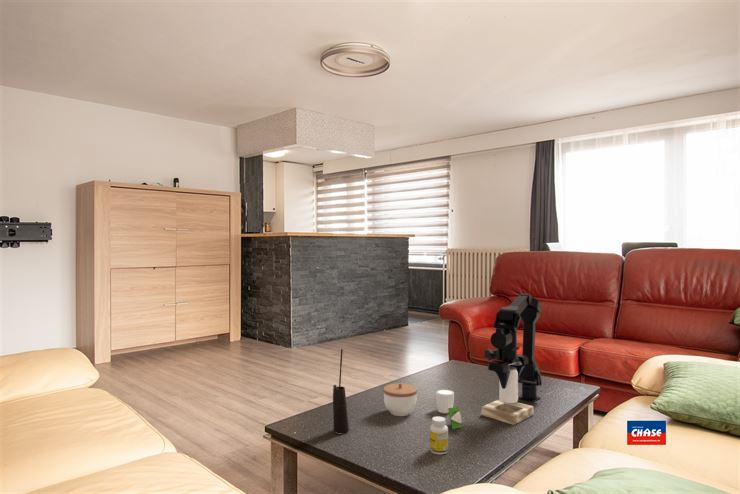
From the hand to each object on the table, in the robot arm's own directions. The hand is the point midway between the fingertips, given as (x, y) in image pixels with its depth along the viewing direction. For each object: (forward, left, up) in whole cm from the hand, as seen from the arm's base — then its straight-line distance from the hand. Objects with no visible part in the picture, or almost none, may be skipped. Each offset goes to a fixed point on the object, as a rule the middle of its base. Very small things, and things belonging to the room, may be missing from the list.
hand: (508, 386), depth 167 cm
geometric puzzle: (+22, -7, -11) cm, 26 cm away
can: (0, 0, -5) cm, 5 cm away
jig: (-1, -1, -11) cm, 11 cm away
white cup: (+12, -19, -11) cm, 25 cm away
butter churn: (+53, -32, -11) cm, 63 cm away
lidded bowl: (+26, -29, -11) cm, 41 cm away
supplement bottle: (+41, +1, -11) cm, 43 cm away
